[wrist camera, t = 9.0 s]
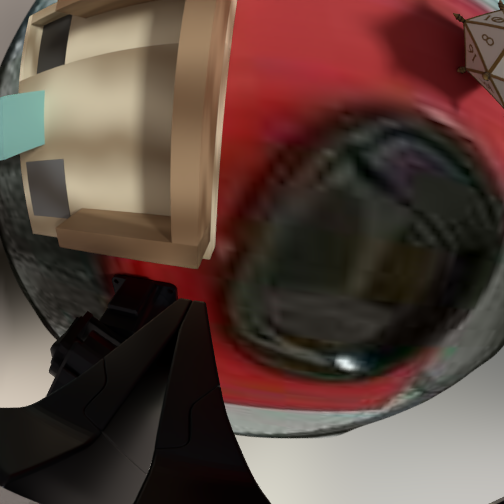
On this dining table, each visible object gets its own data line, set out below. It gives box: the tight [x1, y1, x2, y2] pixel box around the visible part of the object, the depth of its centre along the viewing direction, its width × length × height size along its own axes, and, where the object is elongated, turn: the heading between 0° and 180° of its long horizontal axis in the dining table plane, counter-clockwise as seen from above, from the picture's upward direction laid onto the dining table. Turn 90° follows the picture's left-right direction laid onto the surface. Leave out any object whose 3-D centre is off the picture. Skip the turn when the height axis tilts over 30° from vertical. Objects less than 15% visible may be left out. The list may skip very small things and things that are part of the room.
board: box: [19, 0, 237, 259], centre depth 15 cm, size 21×18×2 cm
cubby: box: [55, 0, 231, 269], centre depth 13 cm, size 18×10×4 cm, turn 174°
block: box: [0, 90, 45, 160], centre depth 12 cm, size 4×4×4 cm
